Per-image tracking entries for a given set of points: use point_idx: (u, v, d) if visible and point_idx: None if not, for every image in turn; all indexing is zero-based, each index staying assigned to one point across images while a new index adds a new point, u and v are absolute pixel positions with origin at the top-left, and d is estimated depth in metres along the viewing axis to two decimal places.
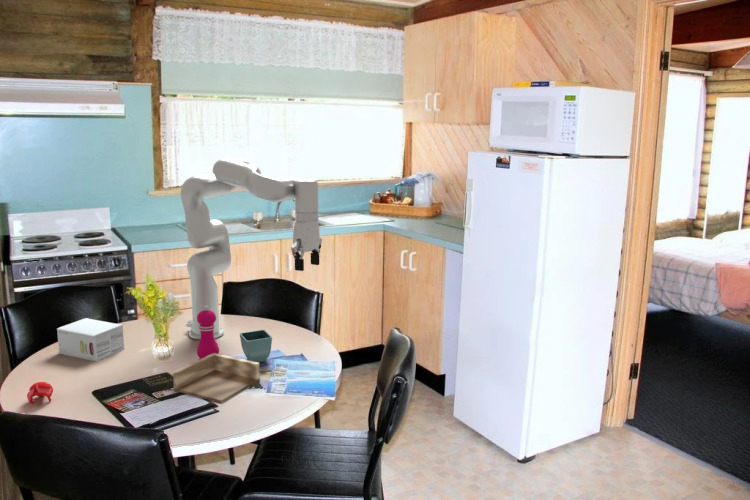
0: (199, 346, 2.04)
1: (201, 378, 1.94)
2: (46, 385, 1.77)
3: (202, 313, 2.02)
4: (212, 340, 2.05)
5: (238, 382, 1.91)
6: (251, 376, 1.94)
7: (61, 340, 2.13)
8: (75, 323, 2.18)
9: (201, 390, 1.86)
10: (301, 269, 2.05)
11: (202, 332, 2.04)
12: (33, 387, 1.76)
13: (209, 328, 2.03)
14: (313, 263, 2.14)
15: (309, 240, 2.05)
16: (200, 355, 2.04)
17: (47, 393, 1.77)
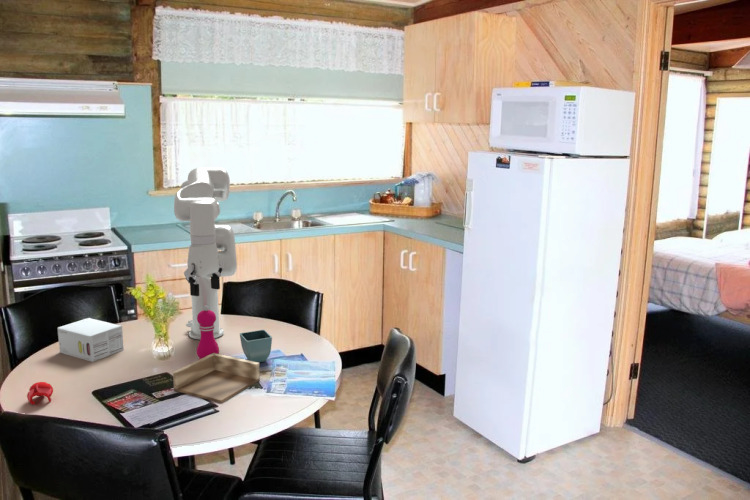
0: (199, 346, 2.04)
1: (201, 378, 1.94)
2: (46, 385, 1.77)
3: (202, 313, 2.02)
4: (212, 340, 2.05)
5: (238, 382, 1.91)
6: (251, 376, 1.94)
7: (61, 339, 2.14)
8: (77, 322, 2.19)
9: (201, 390, 1.86)
10: (196, 294, 1.97)
11: (202, 332, 2.04)
12: (33, 387, 1.76)
13: (209, 328, 2.03)
14: (213, 287, 2.06)
15: (204, 264, 1.97)
16: (200, 355, 2.04)
17: (47, 393, 1.77)
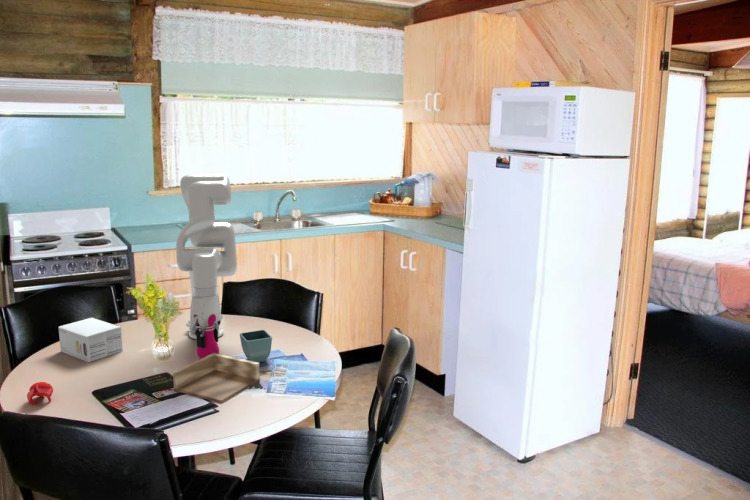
0: None
1: (201, 378, 1.94)
2: (46, 385, 1.77)
3: None
4: (212, 340, 2.05)
5: (238, 382, 1.91)
6: (251, 376, 1.94)
7: (61, 339, 2.14)
8: (78, 322, 2.19)
9: (201, 390, 1.86)
10: (203, 346, 2.03)
11: None
12: (33, 387, 1.76)
13: (210, 328, 2.03)
14: None
15: (206, 315, 2.01)
16: (200, 355, 2.04)
17: (47, 393, 1.77)
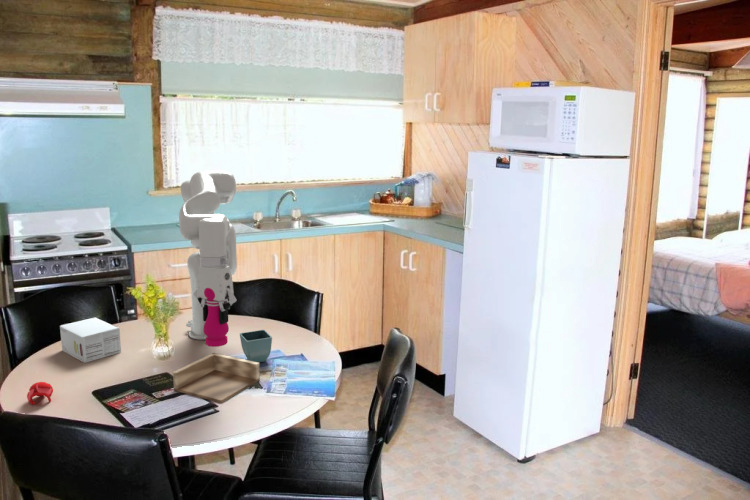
0: None
1: (201, 378, 1.94)
2: (46, 385, 1.77)
3: None
4: (209, 317, 1.82)
5: (238, 382, 1.91)
6: (251, 376, 1.94)
7: (62, 338, 2.15)
8: (80, 321, 2.20)
9: (201, 390, 1.86)
10: None
11: None
12: (33, 387, 1.76)
13: (207, 302, 1.82)
14: None
15: (202, 286, 1.81)
16: None
17: (47, 393, 1.77)
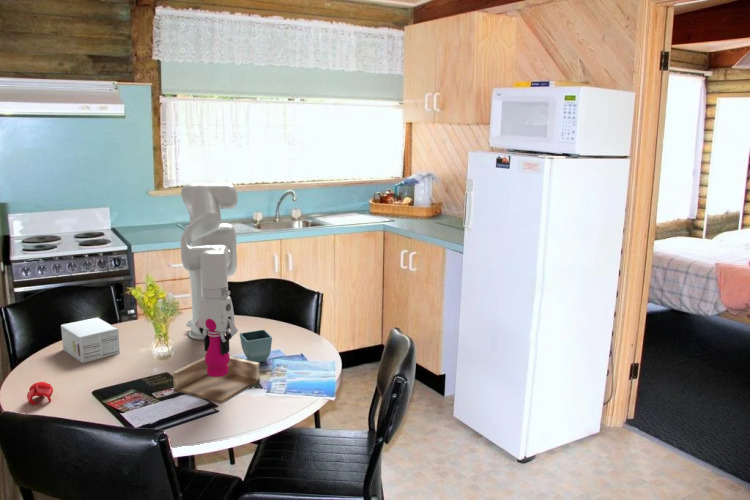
0: None
1: (201, 378, 1.94)
2: (46, 385, 1.77)
3: None
4: (211, 347, 1.84)
5: (238, 382, 1.91)
6: (251, 376, 1.94)
7: (63, 337, 2.16)
8: (82, 321, 2.20)
9: (201, 390, 1.86)
10: None
11: None
12: (33, 387, 1.76)
13: (208, 332, 1.83)
14: None
15: (203, 317, 1.83)
16: None
17: (47, 393, 1.77)
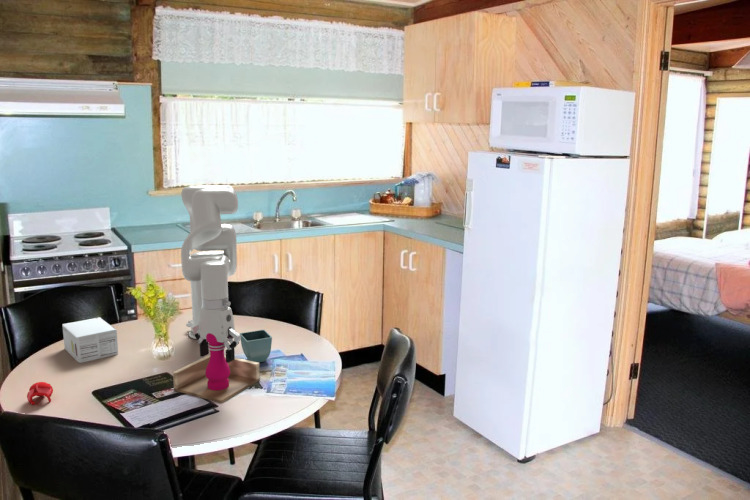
0: None
1: (201, 378, 1.94)
2: (46, 385, 1.77)
3: None
4: (211, 361, 1.85)
5: (238, 382, 1.91)
6: (251, 376, 1.94)
7: (64, 336, 2.17)
8: (83, 321, 2.20)
9: (201, 390, 1.86)
10: None
11: None
12: (33, 387, 1.76)
13: (209, 346, 1.84)
14: None
15: (204, 327, 1.83)
16: None
17: (47, 393, 1.77)
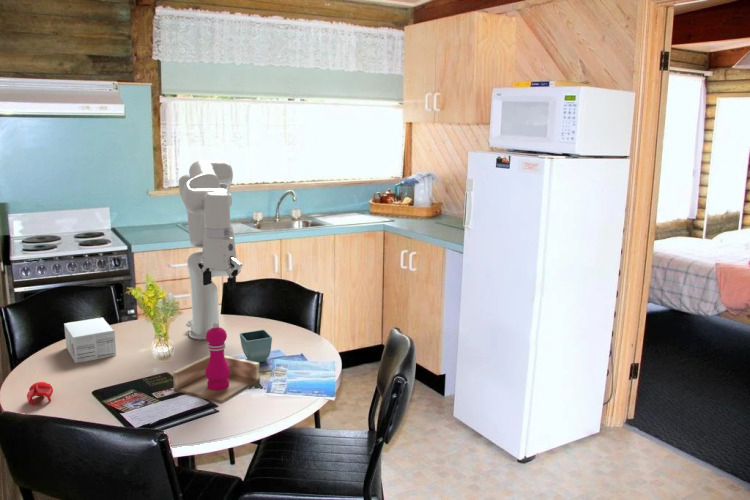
0: None
1: (201, 378, 1.94)
2: (46, 385, 1.77)
3: (211, 328, 1.85)
4: (211, 361, 1.85)
5: (238, 382, 1.91)
6: (251, 376, 1.94)
7: (65, 336, 2.17)
8: (85, 321, 2.21)
9: (201, 390, 1.86)
10: None
11: None
12: (33, 387, 1.76)
13: (209, 346, 1.84)
14: None
15: (207, 256, 1.92)
16: None
17: (47, 393, 1.77)
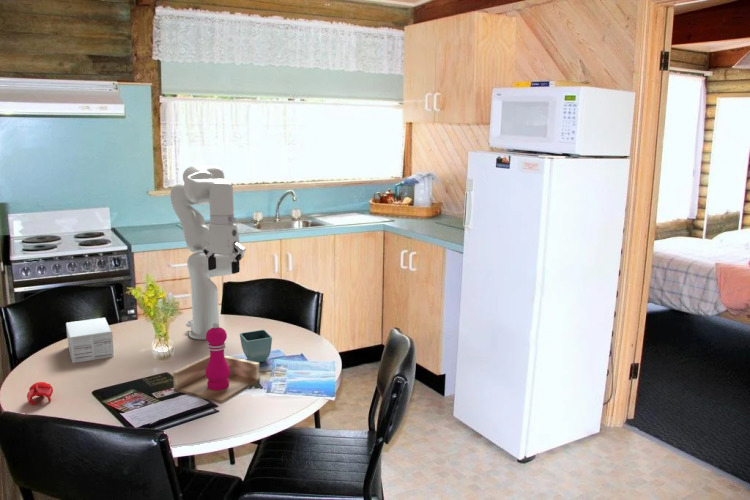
0: None
1: (201, 378, 1.94)
2: (46, 385, 1.77)
3: (211, 328, 1.85)
4: (211, 361, 1.85)
5: (238, 382, 1.91)
6: (251, 376, 1.94)
7: None
8: (87, 320, 2.21)
9: (201, 390, 1.86)
10: None
11: None
12: (33, 387, 1.76)
13: (209, 346, 1.84)
14: None
15: (212, 242, 2.04)
16: None
17: (47, 393, 1.77)
